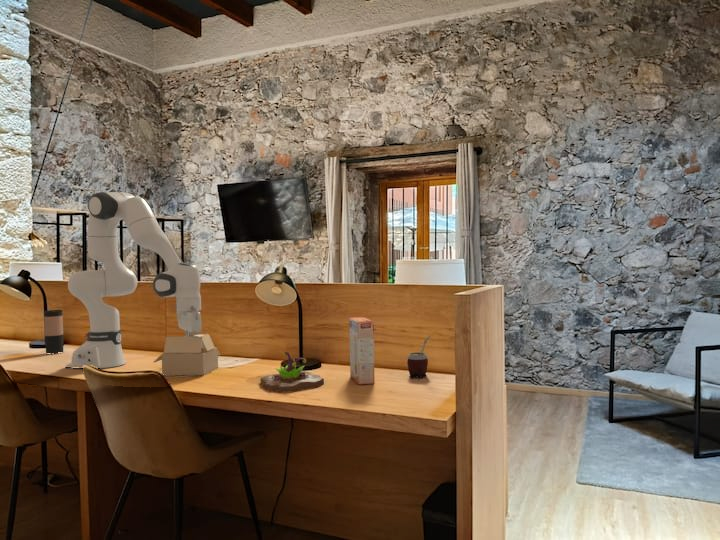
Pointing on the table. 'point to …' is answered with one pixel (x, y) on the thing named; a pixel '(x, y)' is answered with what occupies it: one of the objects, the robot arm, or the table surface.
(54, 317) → the travel mug
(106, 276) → the robot arm
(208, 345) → the flap
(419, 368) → the mate gourd
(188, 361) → the carton
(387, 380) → the table surface
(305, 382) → the plant
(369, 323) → the cracker box
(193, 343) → the flap
